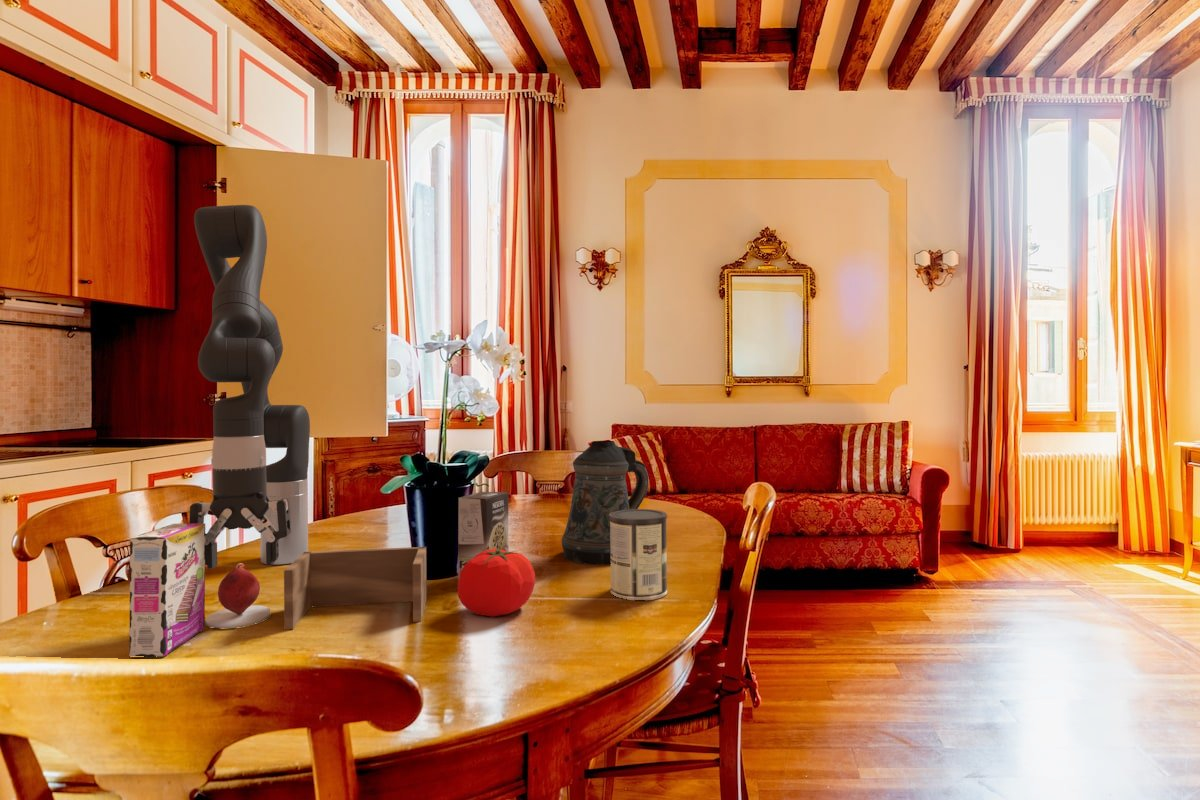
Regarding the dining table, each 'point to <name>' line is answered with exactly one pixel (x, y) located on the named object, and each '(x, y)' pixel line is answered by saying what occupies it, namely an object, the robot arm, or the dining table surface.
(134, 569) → the candy bar box
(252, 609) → the coaster
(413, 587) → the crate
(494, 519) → the coffee box
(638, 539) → the coffee can
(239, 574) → the onion
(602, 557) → the beer stein
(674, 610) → the dining table surface
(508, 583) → the tomato
